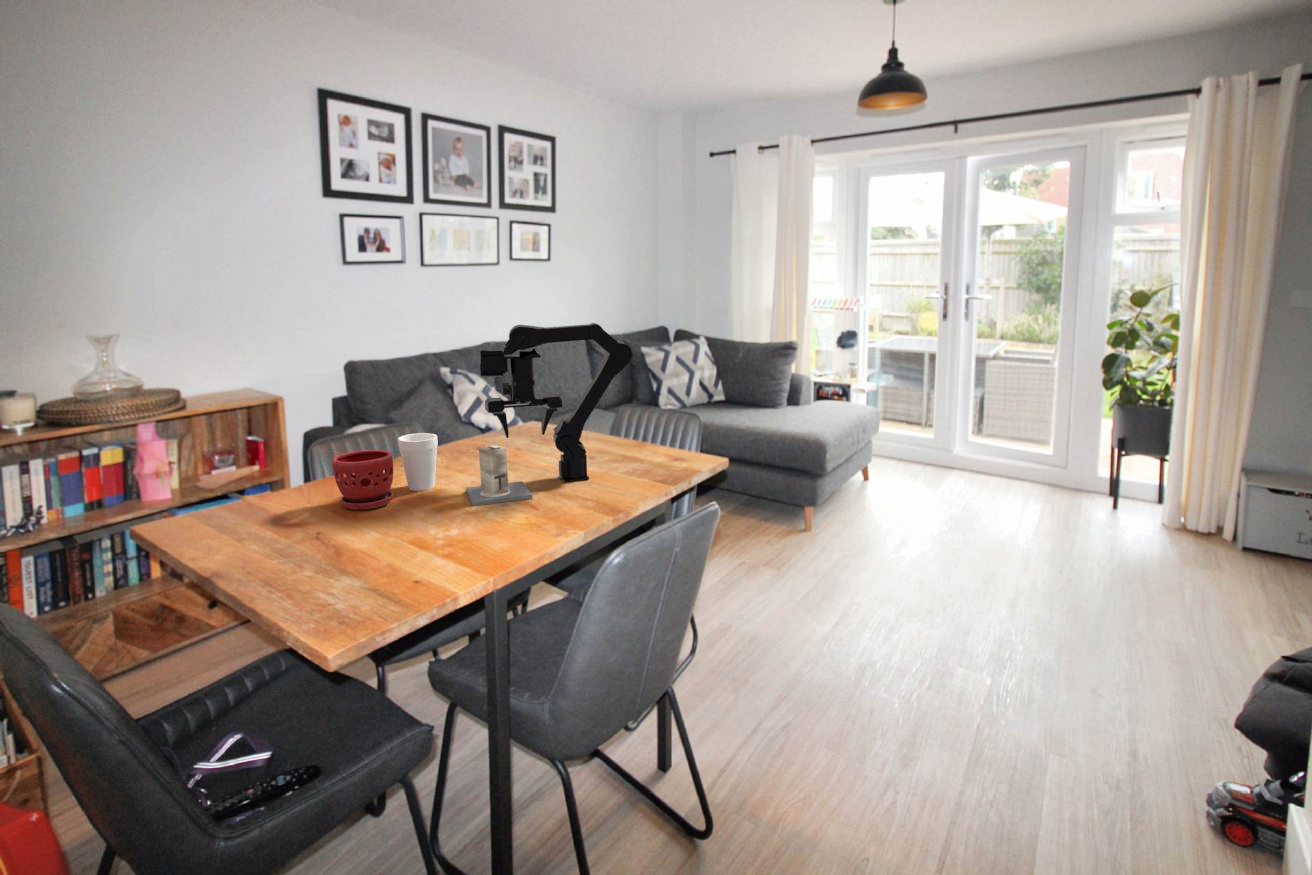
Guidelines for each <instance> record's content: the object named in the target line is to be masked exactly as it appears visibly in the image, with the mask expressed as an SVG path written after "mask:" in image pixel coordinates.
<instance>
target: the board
mask: <svg viewBox="0 0 1312 875" xmlns="http://www.w3.org/2000/svg"><path fill="white" fill-rule="evenodd" d="M508 491H509V492H507V493H503V494H500V495H496V496H490V495H487V494H485V493H482V490H481V485H476V486H468V487H465V492H466V494H467V496H468V498H469V500H470V503H471V504H472V506H473V507H474V506H481V505H482V506H483V505H491V504H499V503H506V502H514V501H515V502H517V501H524V500H532V499H533V493H532V492H531V491H530V489H529V488H528V486H526V485H525V483H524V481H521V480H520V481H512V482H508Z"/></svg>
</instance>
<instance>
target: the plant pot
mask: <svg viewBox="0 0 1312 875" xmlns="http://www.w3.org/2000/svg"><path fill="white" fill-rule="evenodd" d="M393 460H394V459H393V454H392V452H390V451H388V450H382V449H381V450H379V449H374V450H373V449H372V450H370V449H368V450H367V449H366V450H359V451H353V452H347V453H343V454H339V455H337V456H335V457H334V458H332V461H331V462H332V470H333V474H334V479H335V480H334V481H335V484H336V486H337V489H338V491H339V492H340V494H341V496H342V497H341V499H340V503H341V505H342V506H343V507H345V508H348V509H351V510H370V509H376V508H381V507H383V506H385V505H387V504H388V503H390V502H391V501H392V500H393V498H394V493H393V492H392V491H390V490H391V488H392V484H393V480H394V461H393Z"/></svg>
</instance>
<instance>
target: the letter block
mask: <svg viewBox="0 0 1312 875" xmlns="http://www.w3.org/2000/svg"><path fill="white" fill-rule="evenodd" d="M478 453H479V455H478V456H479V469H480V470H479V471H480V484H481V485H480V486H481V490H482V493H485V494H487V495H490V496H496V495H500V494H503V493H507V492H509V491H508V483H509V478H508V477H509V476H508V474H509V473H508V458H507V457H508V456H507V448H506V447H503V446H499V445H497V444H494V445H489V446H484V447H480V448H478Z"/></svg>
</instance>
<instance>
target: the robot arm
mask: <svg viewBox="0 0 1312 875" xmlns="http://www.w3.org/2000/svg"><path fill="white" fill-rule="evenodd" d="M590 340H592V341H594V342H595V343H596V344H598V345H599V346H600V347H601V348H602V349H603V350H604V351H605V352H604V355H603V357H602V361H601V365H600V368H599V370H598V371H597V373H596V375H595V377H594V378H593V379H592V381H591V383H590V384H589V386H588V387H587V390H586V391H585V392H584V394H583V395H582V397H581V399H580V400H579V402H578V404H576V407H575V408H574V410H573V411H572V413H571V414H570V415H569V416H568V417H567V418H565V417H563V416H561V417H560V419H559V422H558V424H557V425H556V426H555V427H554V428H553V431H554V433H553V436H552V437H553V438H552V439H553V442H554V445H555V447H556V449H557V450H558V452H561V453H563V454H560V460H559V461H558V475H559V477H560V478H561V479H562V481H564V482H567V483H569V482H576V481H577V482H578V481H586V480H589V479H590V476H589V475H588V461H587V460H588V458H587V454H586V453H587V450H586V448H585V446H584V444H583V442H581V441H580V439H581V437H582V434H583V430H584V427H585V424H586V422H587V421H588V420H589V418H590V416H591V414H592V413H593V411H594V410H595V408H596V407H597V405H598V403H599V402H600V400H601V399H602V397H603V395H604V394H605V392H606V391H607V389H608V387H609V385H610V384H611V383H612V381H613V380H614V379H615V377H617V376H618V375H619V374H620V373H621V372H623V370H624V369H625V368H627V366H628V365H629V364H630V363H631V361H632V359H633V356H634V355H633V350H632V349H631V347H630V346H629V345H628V344H627V343H625V342H623V341H621V340H616V339H615V338H614V337H613V336H611V334H609V333H608V332H607V331H605V330H604V329H603V327H602V326H601V325H600V324H598V323H596V322H592V323H589V324H577V325H576V324H575V325H563V326H550V327H546V326H545V327H543V326H536V325H529V324H528V325H527V324H526V325H525V324H516V325H514V326H513V327H511V329H510V330H509V333H508V340H507V342H506V343H505V345H503V347H502V349H480V351H479V352H480V353H479V354H480V362H479V366H480V368H479V369H480V370H479V371H480V378H493V377H496V378H497V377H501V378H502V377H505V376H504V374H506V373H509V368H510V383H509V382H502V383H501V384H500V392H501V396H502V397H507V396H508V399H509V400H503V398H501V397H490V398H489V397H488V398H486V399H485V400H484V409H485V411H486V413H490V414H492V415H493V416H495V417H497V418H498V420H499V422H500V426H501V427H502V430H503V432H504V435H505V438H506V439H509V427H508V419H507V413H506V412H505V411H504V410H505V409H509V408H510V409H511V408H524V407H534V406H535V407H538V406H540V407H541V424H540V425H541V427H540V429H541V435H545V433H546V431H547V427H548V425H549V423H550V420H551V418H552V416H553V414H554V412H558V408H559V409H560V408H563V399H562V397H561V396H559V395H558V394H556V393H548V394H547V393H546V394H542V396H541V397H539V398H536V393H535V392H536V391H535V385H536V384H535V383H536V382H535V368H534V359H540V358H541V357H542V356H541V354H540V352H538V351H537V350H536V348H535V347H539V346H541V345H546V344H549V343H563V342H565V343H566V342H576V341H577V342H578V341H590ZM528 349H530V350H528ZM517 351H518V354H514V353H516V352H517ZM508 359H509V365H508ZM509 366H510V367H509Z"/></svg>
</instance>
